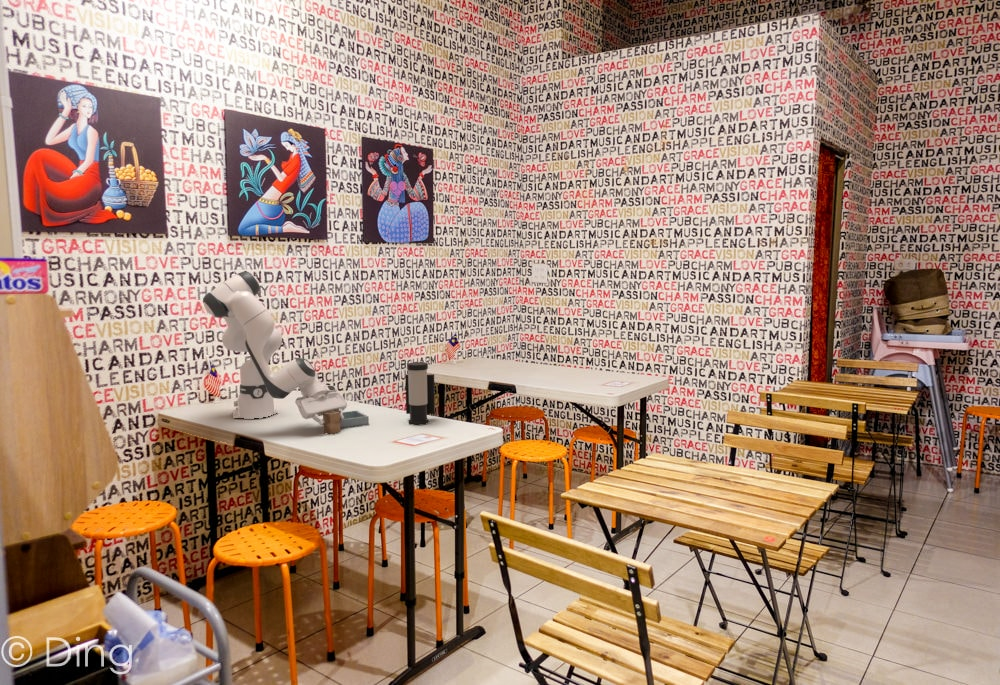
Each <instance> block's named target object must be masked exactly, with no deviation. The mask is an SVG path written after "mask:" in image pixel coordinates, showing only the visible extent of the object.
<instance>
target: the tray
mask: <svg viewBox="0 0 1000 685" xmlns="http://www.w3.org/2000/svg"><path fill="white" fill-rule="evenodd" d="M342 415H343V416H344V419H343V420H341V421H340V430H342V429H341V428H343V429H349V428H348V427H350V428H356V427H355V426H357V427H362V425H365V426H369V425H370V422H369V419H370V418H369V415H367V414H365V413H363V412H360V411H358V410H350V411H342ZM368 424H369V425H368Z"/></svg>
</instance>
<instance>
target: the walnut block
mask: <svg viewBox="0 0 1000 685" xmlns="http://www.w3.org/2000/svg"><path fill="white" fill-rule="evenodd" d="M322 419H323V420H324V421H325V424H324V425H322V426H323V427H322V428H323V429H322V430H323V434H325V433H327V435H330V434H333V435H336V434H340V433H341V429H340V412H335V411H330V412H325V413H323V415H322ZM339 432H340V433H339ZM335 433H336V434H335Z"/></svg>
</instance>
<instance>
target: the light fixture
mask: <svg viewBox="0 0 1000 685" xmlns="http://www.w3.org/2000/svg"><path fill="white" fill-rule="evenodd" d="M406 369H407V373H408V374H405V375H404V377H405V380H404V382H405V412H406V415H409V420H408V424H409V425H410V424H414V425H413V426H420V425H419V424H425V425H427V424H426V423H428V422H429V423H430V419H428V415H431V414H432V415H435V413H436V400H435V397H436V396H435V394H436V393H435V374H434V373H433V374H431V373H428V369H429V364H428V362H424V361H417V362H416V361H415V362H408V363H406ZM429 423H428V424H429Z"/></svg>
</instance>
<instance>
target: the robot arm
mask: <svg viewBox="0 0 1000 685" xmlns="http://www.w3.org/2000/svg"><path fill="white" fill-rule="evenodd" d="M260 289H261V286H260V284H259V280H258V279H257V277H255V275H253V274H252V273H251V272H249V271H245V270H244V271H241V272H238V273H237V274H236V275H234V276H232V277H230V278H227V279H226V280H225V281H222V283H220V284H219V285H218V286H217V287H214V289H213V290H211V291H209V292H207V293H206V294H205V295H204V296H203V298H202V304H203V307H204V309H205V310H206V312H207V313H208V314H209V315H211V316H212V317H213V318H218V319H220V318H221V319H222V318H223V319H224V322H226V326H227V328H226V329H225V330H224V331H223V333H222V337H221V341H222V344H223V346H224V348H225V349H226V350H228V351H232V352H237V353H248V355H249V359H248V360H246V361H245V362H243V363H242V364H241V366H240V368H239V372H240V373H239V374H240V384H239V395H238V397H237V400H235V401H233V407H236V408H235V409H233V411H232V419H234V418H244V419H243V420H255V419H254V418H259V419H264V418H263V417H266V418H269V417H268V416H270V417H272V416H273V414H274V415H277V414H279V410H277V409H275V401H274V399H277V400H279V399H280V400H282V399H285V398H286V397H287V396H289V395H290V394H291V393H292V392H293V391H294V390H296V389H297V388H298V389H299V390H300V393H301V396H300V397H297V398H296V399H295V401H294V402H295V404H296V406H297V408H298V411H299V413H300V415H301V417H302V418H303V419H304V420H309V419H313V421H315V422H316V423H318V425H319V426H323V425H324V424H325V421H324V420H323V418H321V417H323V413H325V412H330V411H335V412H340V421H341V420H343V419H344V416H343V415H342V412H344V411H345V409H346V408H347V407H348V403H347V400H346V399H345V397H344V396H343V395H342V394H341V392H339V391H338V388H337V386H335V385H330V384H329V385H328V384H325V383H323V382H322V381H321V380H320V379H319V378H318V375H317V373H316V370H315V368H314V367H313V364H311V362H310V361H309V360H308V359H306V358H303V357H296V358H294V359H292V360H291V361H289V362H288V363H287V364H285V365H284V366H283V367H281V368H279V369H278V370H277V371H276V372H273V371H272V370H271V368H270V366H269V362H270V360H271V358H272V356H273V354H274V353H275V352H277V351H278V350H279V349H280V347H281V345H282V342H283V335H282V333H281V331H280V330H279V329H278V328H276V327H275V326H276V325H275V324H276V322H275V320H274V319H275V318H274V317H273V316H272V314H271V313H270V311H269V310H268V309H267V307H266V306H265V305H264V304H263V303H262V302H261V300H260V299H258V297H256V295H258V294H259V292H260ZM276 413H277V414H276ZM271 415H272V416H271Z"/></svg>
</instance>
